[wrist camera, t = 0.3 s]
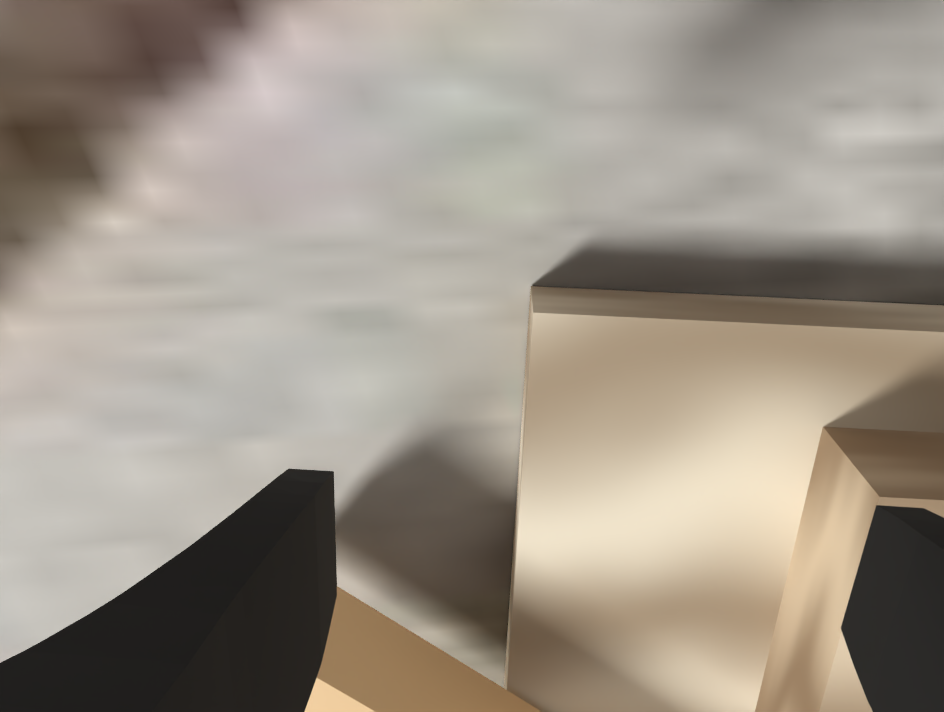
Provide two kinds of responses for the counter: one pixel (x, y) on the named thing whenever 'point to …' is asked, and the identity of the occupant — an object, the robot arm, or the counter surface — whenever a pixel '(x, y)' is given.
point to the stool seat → (710, 493)
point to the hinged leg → (396, 670)
